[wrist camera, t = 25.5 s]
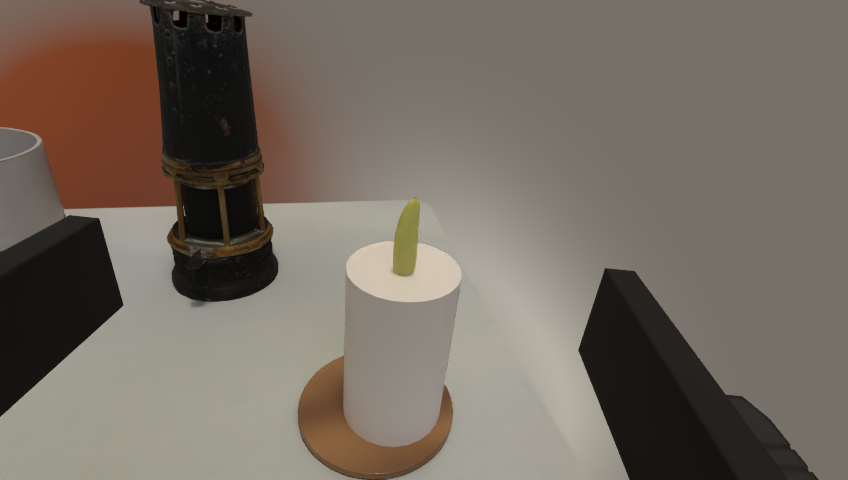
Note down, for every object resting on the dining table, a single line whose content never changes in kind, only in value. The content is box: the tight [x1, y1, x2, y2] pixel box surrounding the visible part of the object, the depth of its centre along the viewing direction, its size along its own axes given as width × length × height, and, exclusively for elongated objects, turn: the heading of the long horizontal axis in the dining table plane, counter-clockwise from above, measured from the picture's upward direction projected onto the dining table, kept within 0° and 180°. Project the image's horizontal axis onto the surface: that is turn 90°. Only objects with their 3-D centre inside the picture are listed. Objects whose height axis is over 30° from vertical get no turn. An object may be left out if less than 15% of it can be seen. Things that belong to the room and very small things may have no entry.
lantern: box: [140, 0, 278, 301], centre depth 34 cm, size 9×9×30 cm
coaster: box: [298, 356, 453, 479], centre depth 29 cm, size 10×10×1 cm
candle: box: [343, 198, 462, 447], centre depth 25 cm, size 6×6×15 cm
